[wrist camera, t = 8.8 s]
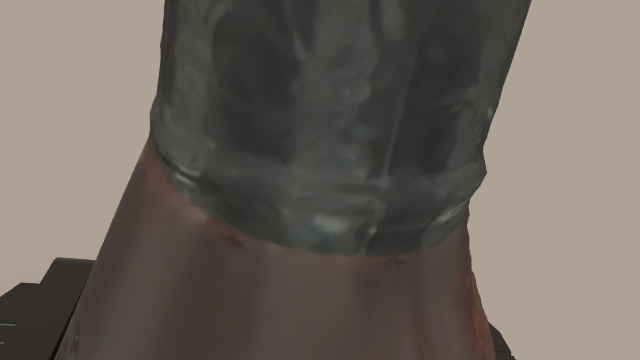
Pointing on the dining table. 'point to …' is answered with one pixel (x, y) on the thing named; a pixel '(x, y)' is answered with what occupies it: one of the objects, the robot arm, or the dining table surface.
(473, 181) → the sauce bottle
